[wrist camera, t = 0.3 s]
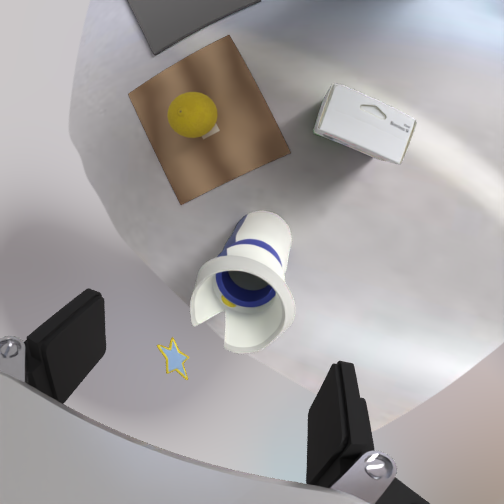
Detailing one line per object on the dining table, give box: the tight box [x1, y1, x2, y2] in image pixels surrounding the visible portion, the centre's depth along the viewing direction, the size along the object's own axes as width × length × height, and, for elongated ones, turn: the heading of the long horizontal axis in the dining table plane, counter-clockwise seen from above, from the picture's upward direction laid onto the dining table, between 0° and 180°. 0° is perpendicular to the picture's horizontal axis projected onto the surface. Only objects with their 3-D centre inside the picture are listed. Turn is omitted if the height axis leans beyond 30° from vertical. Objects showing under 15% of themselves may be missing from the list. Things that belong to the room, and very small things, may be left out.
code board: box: [128, 35, 291, 205], centre depth 37 cm, size 16×18×1 cm
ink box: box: [313, 83, 417, 165], centre depth 29 cm, size 9×5×12 cm, turn 72°
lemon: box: [167, 92, 218, 138], centre depth 33 cm, size 6×6×8 cm
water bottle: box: [157, 211, 295, 380], centre depth 30 cm, size 8×9×25 cm
